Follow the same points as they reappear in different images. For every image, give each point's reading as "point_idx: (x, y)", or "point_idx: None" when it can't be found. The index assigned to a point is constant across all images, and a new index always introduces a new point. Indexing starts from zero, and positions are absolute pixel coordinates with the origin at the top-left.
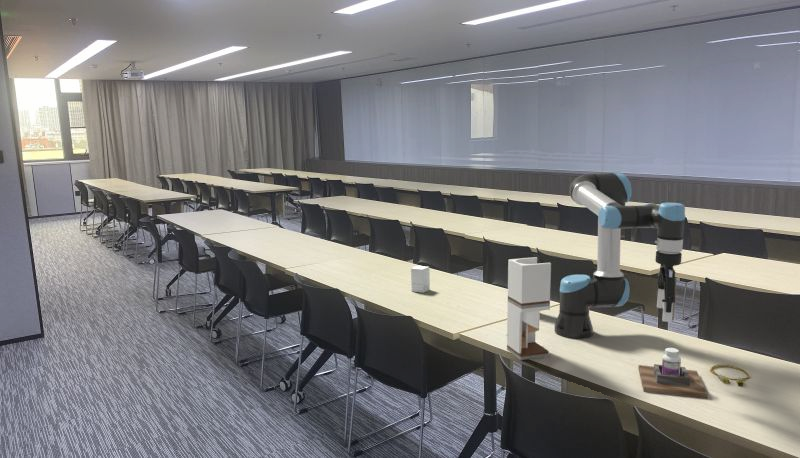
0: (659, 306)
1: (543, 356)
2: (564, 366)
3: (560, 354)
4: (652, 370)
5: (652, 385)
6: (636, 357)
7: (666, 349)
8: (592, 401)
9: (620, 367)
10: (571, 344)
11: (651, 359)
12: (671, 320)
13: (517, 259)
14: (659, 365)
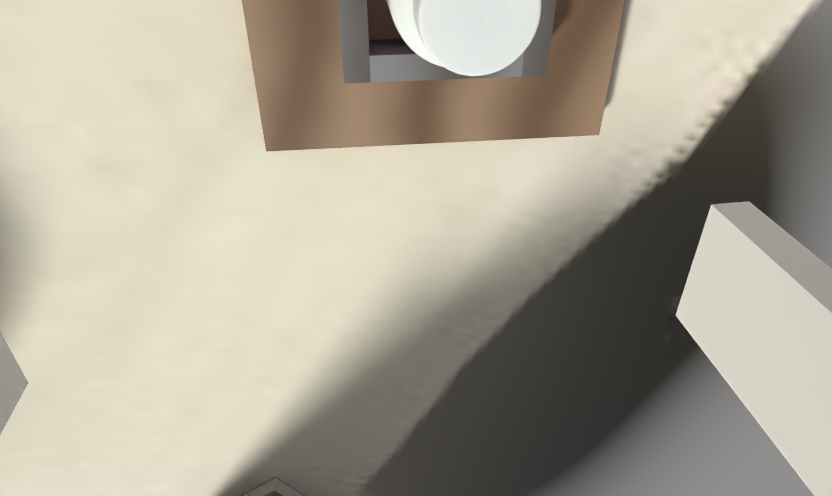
0: (2, 380)
1: (291, 490)
2: (368, 422)
3: (229, 450)
4: (330, 72)
5: (575, 87)
6: (51, 144)
7: (476, 66)
8: None
9: (282, 228)
10: (57, 434)
11: (27, 47)
12: (761, 222)
13: None
14: (356, 47)
